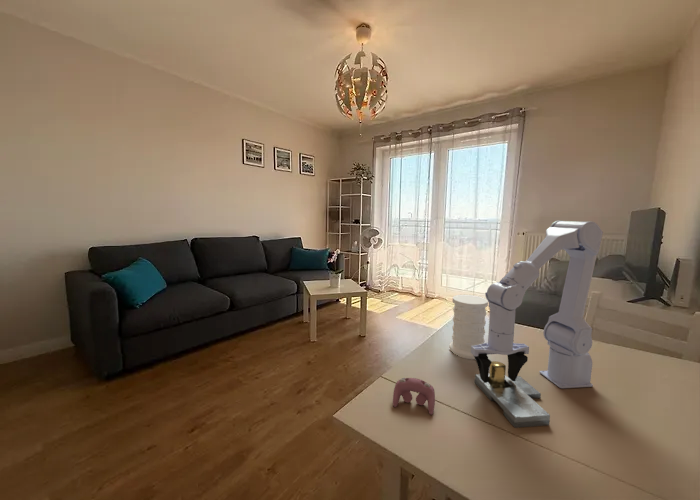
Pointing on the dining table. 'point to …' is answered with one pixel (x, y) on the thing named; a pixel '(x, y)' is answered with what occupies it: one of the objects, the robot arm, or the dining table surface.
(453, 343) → the decorative container
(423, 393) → the video game controller
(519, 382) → the lower link
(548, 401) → the dining table surface
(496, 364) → the pin
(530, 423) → the upper link
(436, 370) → the dining table surface
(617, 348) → the dining table surface
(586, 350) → the robot arm
